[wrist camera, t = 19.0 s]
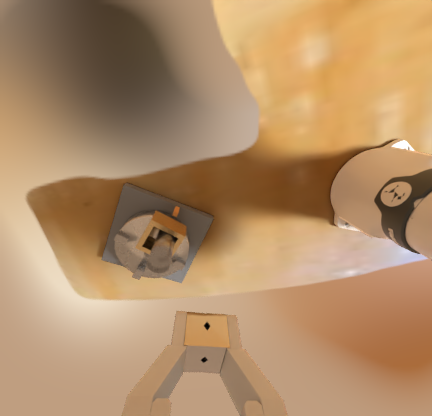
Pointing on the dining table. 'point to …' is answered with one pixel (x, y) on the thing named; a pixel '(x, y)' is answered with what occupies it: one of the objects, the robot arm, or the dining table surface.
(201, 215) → the base
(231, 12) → the dining table surface
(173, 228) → the grey round chuck
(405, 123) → the dining table surface
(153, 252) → the steel pin
